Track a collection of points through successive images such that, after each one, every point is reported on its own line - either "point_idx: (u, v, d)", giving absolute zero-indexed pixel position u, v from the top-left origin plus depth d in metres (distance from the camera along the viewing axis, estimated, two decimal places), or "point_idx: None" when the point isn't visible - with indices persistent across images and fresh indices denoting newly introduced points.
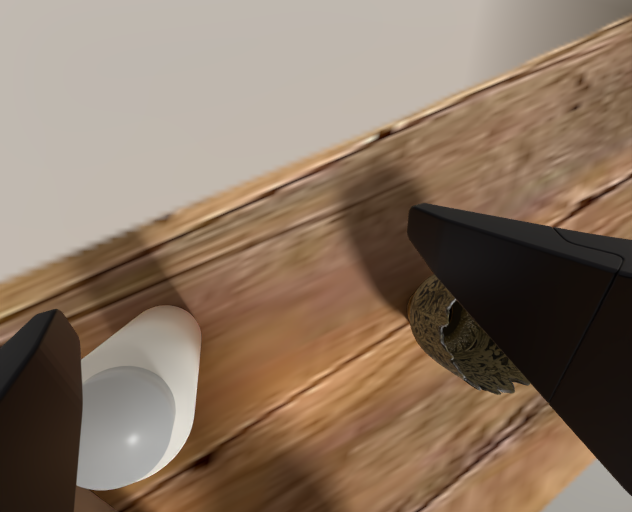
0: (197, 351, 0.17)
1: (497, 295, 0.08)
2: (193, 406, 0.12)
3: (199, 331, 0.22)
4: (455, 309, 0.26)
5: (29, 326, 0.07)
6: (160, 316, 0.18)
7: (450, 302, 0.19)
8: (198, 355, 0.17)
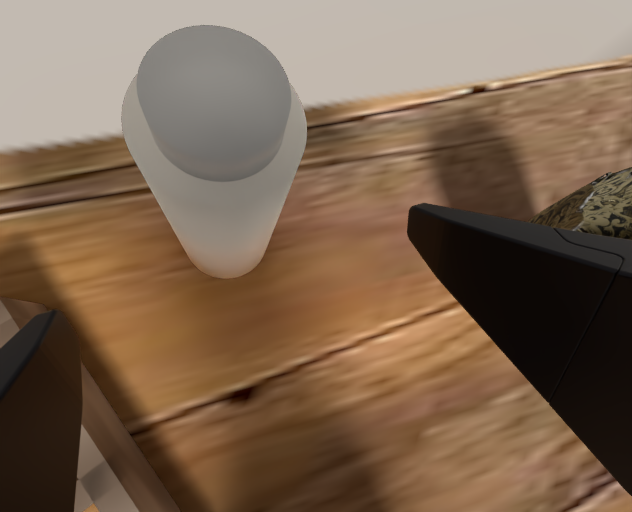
0: None
1: (498, 295, 0.08)
2: (304, 140, 0.09)
3: None
4: None
5: (29, 326, 0.07)
6: None
7: (584, 199, 0.16)
8: None
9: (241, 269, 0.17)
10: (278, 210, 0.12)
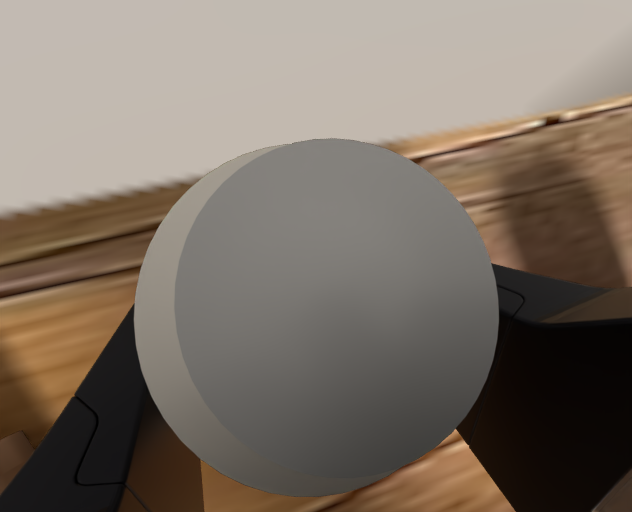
0: None
1: None
2: None
3: None
4: None
5: None
6: None
7: None
8: None
9: None
10: None
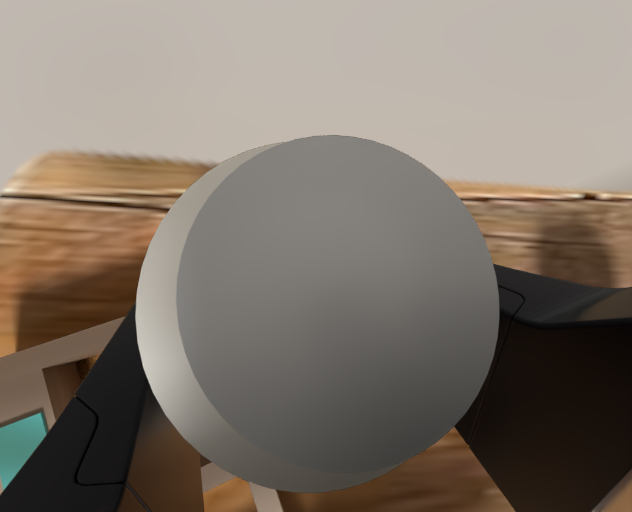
0: None
1: None
2: None
3: None
4: None
5: None
6: None
7: None
8: None
9: None
10: None
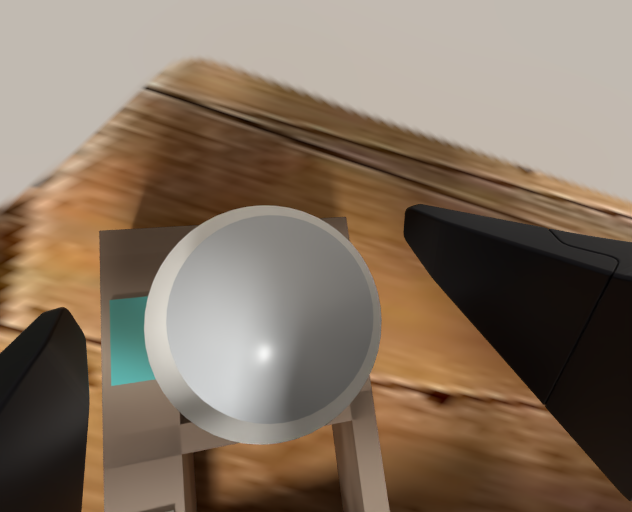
0: None
1: (493, 296, 0.08)
2: (378, 330, 0.07)
3: None
4: None
5: (36, 324, 0.07)
6: None
7: None
8: None
9: None
10: None
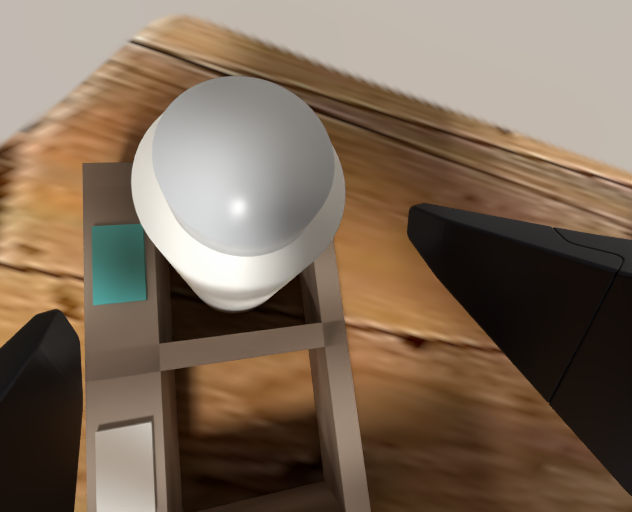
0: None
1: (497, 295, 0.08)
2: (342, 202, 0.08)
3: None
4: None
5: (29, 326, 0.07)
6: None
7: None
8: None
9: (253, 308, 0.16)
10: None
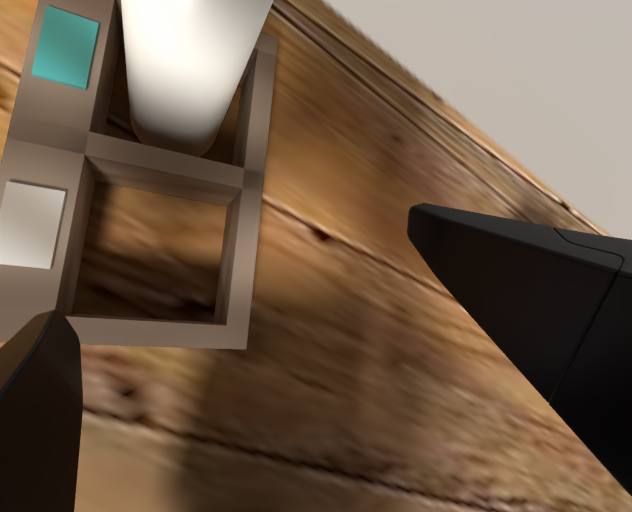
0: None
1: (497, 295, 0.08)
2: None
3: None
4: None
5: (28, 326, 0.07)
6: None
7: None
8: None
9: (185, 145, 0.18)
10: (240, 58, 0.12)
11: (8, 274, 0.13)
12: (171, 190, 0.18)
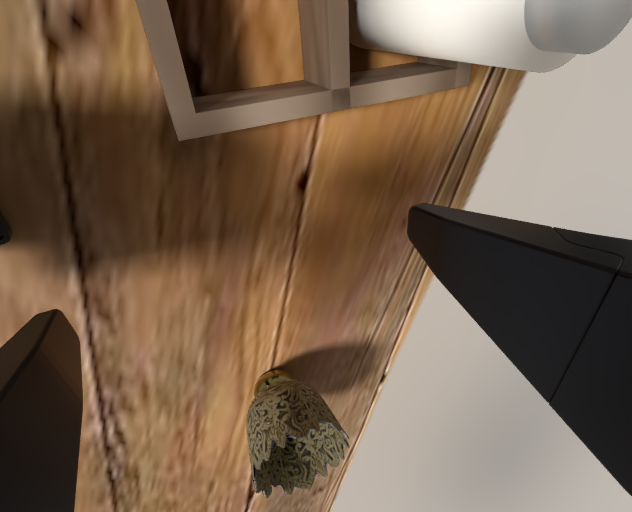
0: None
1: (497, 295, 0.08)
2: (534, 70, 0.12)
3: None
4: None
5: (28, 326, 0.07)
6: None
7: (344, 432, 0.27)
8: None
9: (353, 18, 0.17)
10: (455, 51, 0.13)
11: None
12: (306, 14, 0.17)
